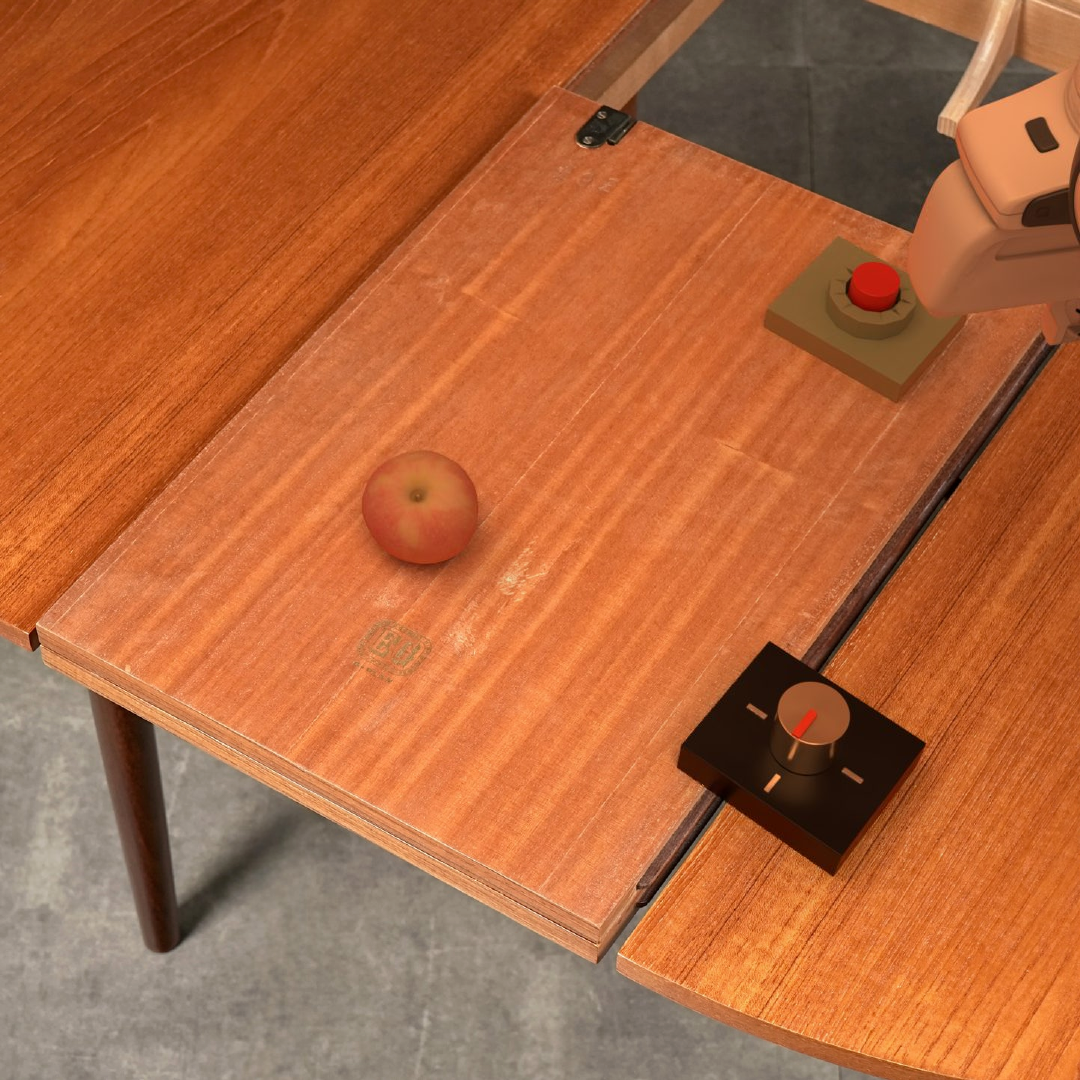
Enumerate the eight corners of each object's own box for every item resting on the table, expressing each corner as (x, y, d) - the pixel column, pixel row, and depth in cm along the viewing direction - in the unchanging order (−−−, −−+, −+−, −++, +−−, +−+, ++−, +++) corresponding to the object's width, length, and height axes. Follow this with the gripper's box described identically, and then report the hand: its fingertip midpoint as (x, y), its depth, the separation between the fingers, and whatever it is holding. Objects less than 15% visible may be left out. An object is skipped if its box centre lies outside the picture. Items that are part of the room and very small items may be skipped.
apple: (347, 563, 118) (338, 495, 111) (397, 484, 122) (392, 413, 115) (450, 605, 116) (447, 538, 109) (497, 522, 120) (498, 453, 113)
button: (905, 292, 128) (909, 276, 127) (879, 319, 127) (884, 303, 125) (864, 270, 130) (868, 254, 128) (839, 297, 128) (843, 281, 127)
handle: (793, 700, 109) (803, 666, 105) (852, 738, 107) (864, 705, 104) (755, 748, 107) (764, 715, 103) (815, 788, 105) (826, 755, 102)
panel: (917, 764, 110) (927, 741, 107) (833, 877, 105) (841, 855, 102) (763, 663, 114) (769, 638, 111) (676, 767, 109) (680, 744, 106)
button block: (963, 327, 131) (975, 291, 128) (896, 403, 127) (906, 368, 124) (833, 255, 136) (841, 218, 132) (763, 327, 131) (770, 291, 128)
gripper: (1320, 69, 84) (1221, 266, 95) (927, 119, 81) (874, 315, 93) (1381, 156, 80) (1271, 350, 92) (973, 211, 78) (911, 403, 89)
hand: (1069, 333), depth 92 cm, fingers closed
